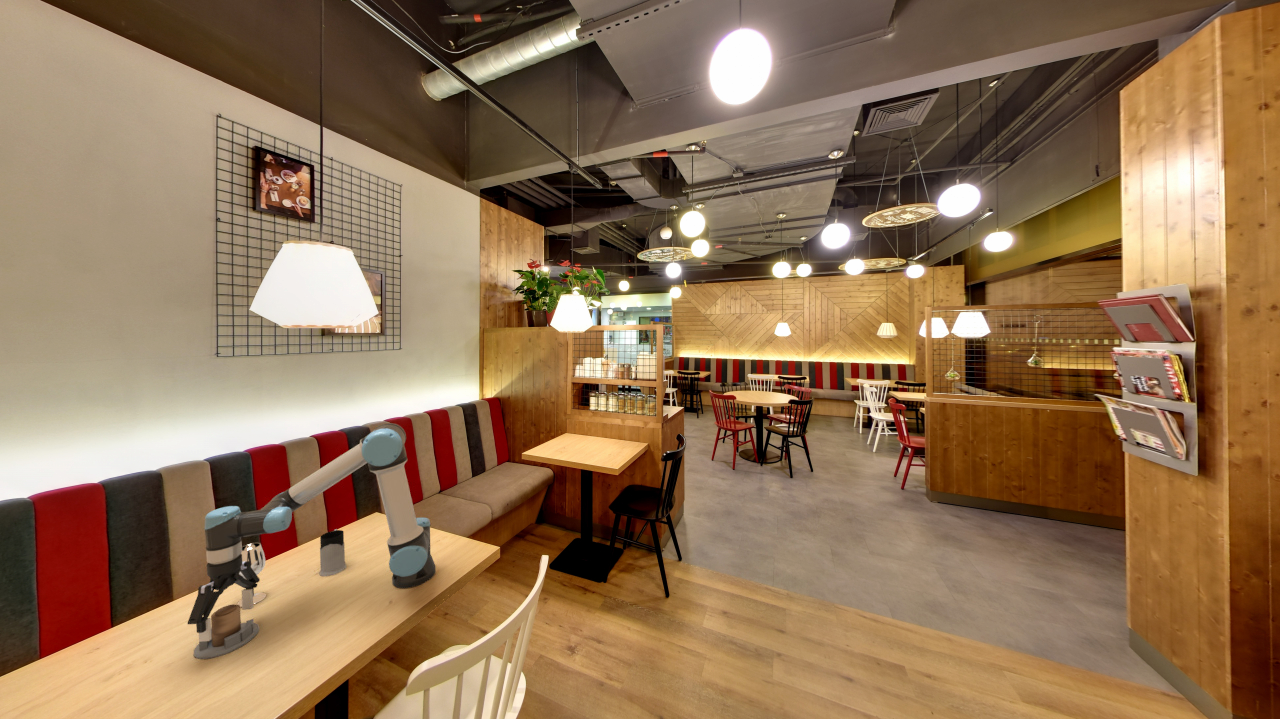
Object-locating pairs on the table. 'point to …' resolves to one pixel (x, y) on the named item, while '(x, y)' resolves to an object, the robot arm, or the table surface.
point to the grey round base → (227, 642)
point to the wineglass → (254, 565)
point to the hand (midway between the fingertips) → (227, 623)
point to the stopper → (225, 624)
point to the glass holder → (332, 553)
